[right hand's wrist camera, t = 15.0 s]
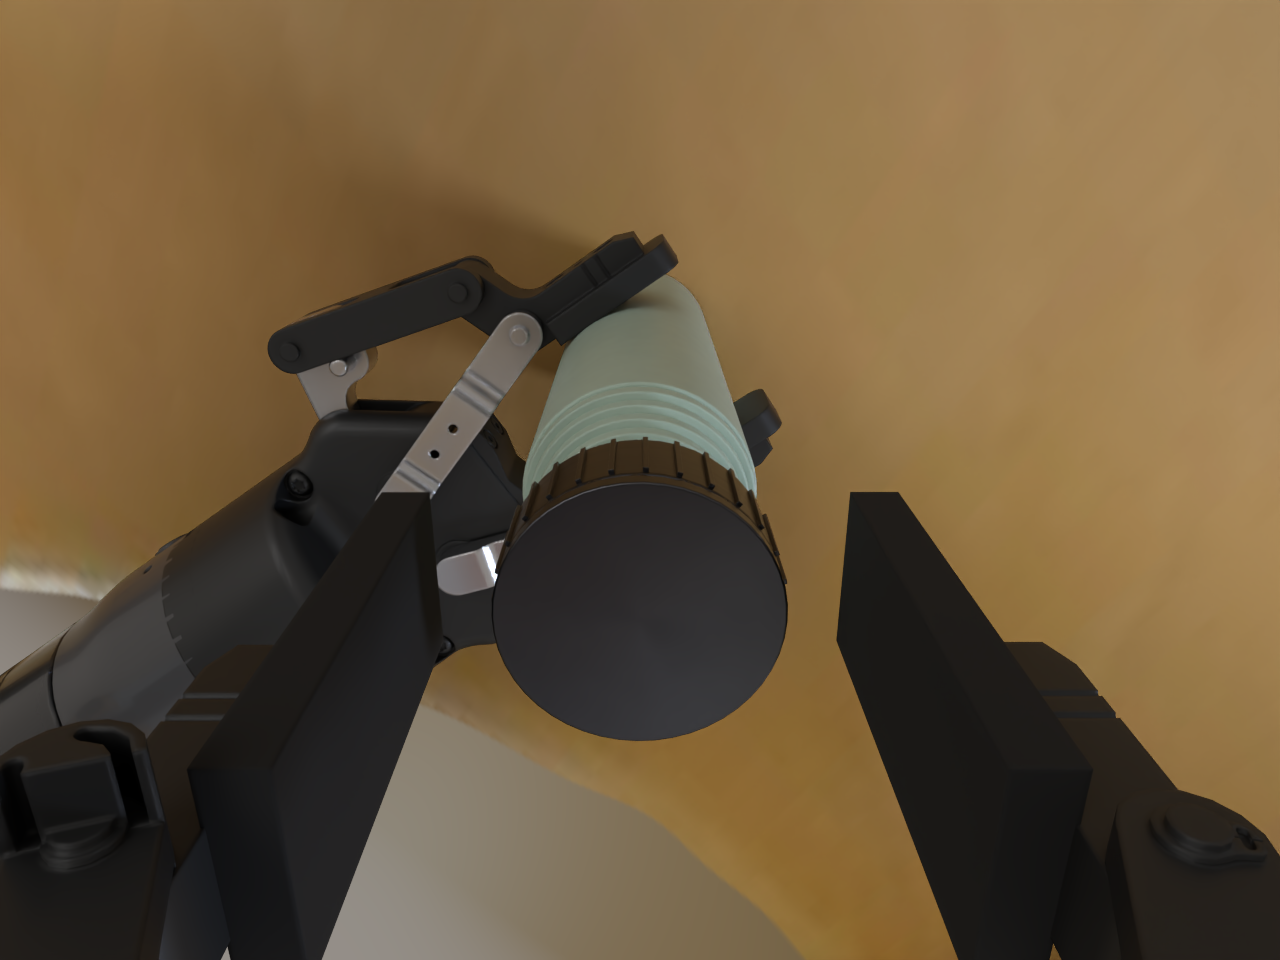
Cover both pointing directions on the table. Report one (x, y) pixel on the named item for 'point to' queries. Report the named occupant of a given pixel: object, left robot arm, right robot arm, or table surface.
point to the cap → (639, 592)
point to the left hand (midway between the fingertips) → (719, 330)
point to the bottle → (642, 386)
